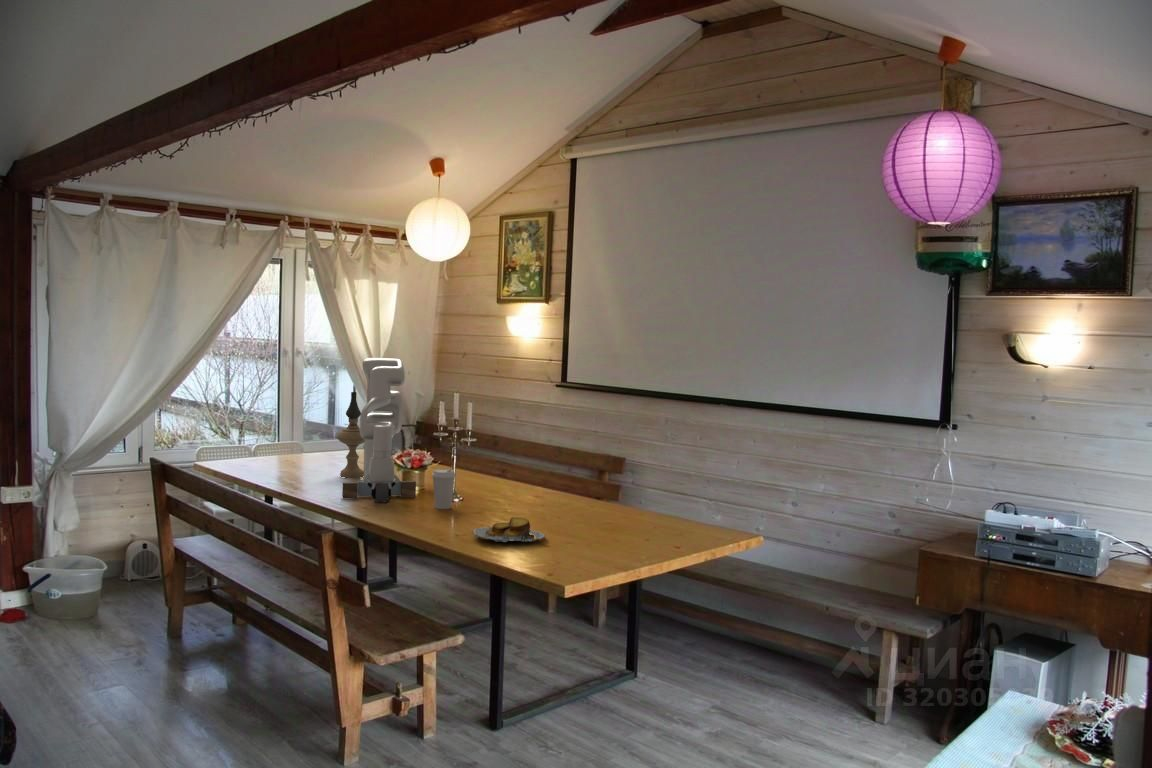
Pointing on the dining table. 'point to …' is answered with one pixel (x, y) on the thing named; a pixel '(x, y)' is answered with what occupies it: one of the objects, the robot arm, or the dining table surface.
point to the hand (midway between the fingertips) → (381, 497)
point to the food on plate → (509, 531)
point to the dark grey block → (381, 492)
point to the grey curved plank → (366, 490)
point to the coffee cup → (443, 487)
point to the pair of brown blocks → (352, 489)
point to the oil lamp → (352, 440)
